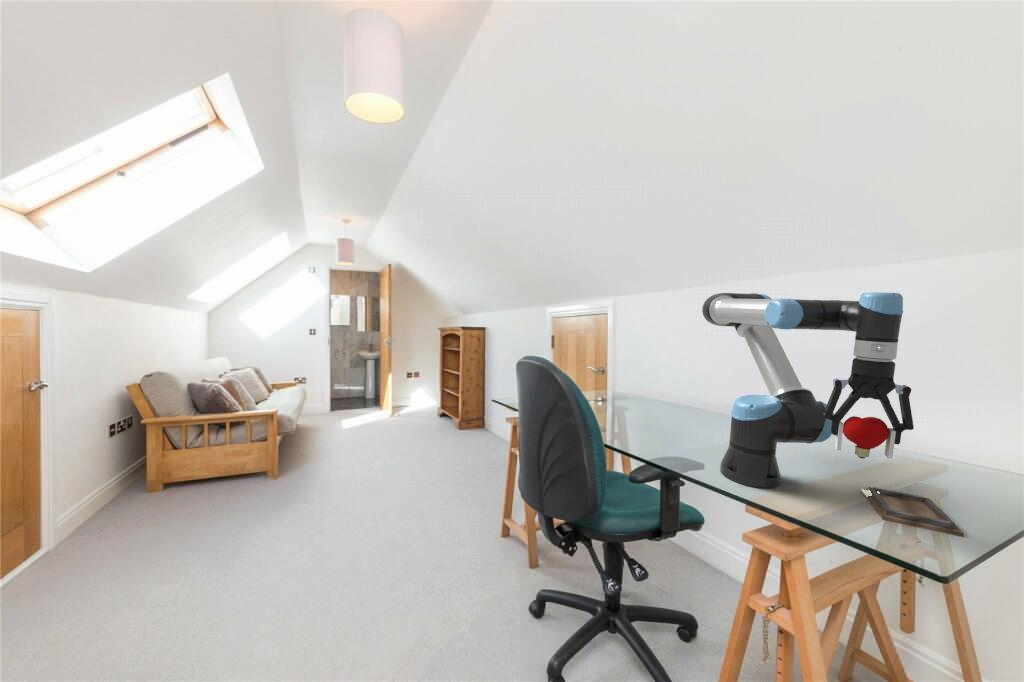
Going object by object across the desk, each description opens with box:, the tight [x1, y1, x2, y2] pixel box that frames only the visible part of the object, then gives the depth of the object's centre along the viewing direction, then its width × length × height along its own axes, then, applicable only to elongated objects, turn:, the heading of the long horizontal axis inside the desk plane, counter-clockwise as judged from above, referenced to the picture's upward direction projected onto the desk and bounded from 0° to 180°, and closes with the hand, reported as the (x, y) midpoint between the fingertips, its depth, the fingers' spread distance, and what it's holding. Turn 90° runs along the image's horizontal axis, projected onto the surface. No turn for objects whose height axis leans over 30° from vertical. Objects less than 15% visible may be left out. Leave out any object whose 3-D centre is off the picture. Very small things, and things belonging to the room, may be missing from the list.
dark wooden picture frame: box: [866, 486, 965, 537], centre depth 101 cm, size 14×16×2 cm
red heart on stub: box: [843, 415, 889, 459], centre depth 97 cm, size 9×7×10 cm
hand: (862, 452), depth 98 cm, fingers closed on red heart on stub, 9 cm apart
